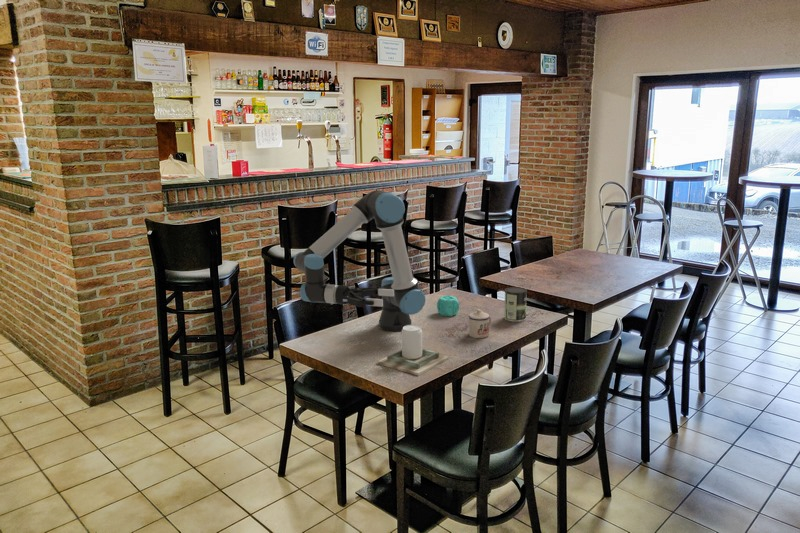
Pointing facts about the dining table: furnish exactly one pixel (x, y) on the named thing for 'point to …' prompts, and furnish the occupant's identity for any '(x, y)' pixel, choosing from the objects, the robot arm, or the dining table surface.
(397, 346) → the dining table surface
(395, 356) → the board
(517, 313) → the coffee can
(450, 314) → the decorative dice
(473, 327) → the teacup with lid
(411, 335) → the beverage can
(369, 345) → the dining table surface
